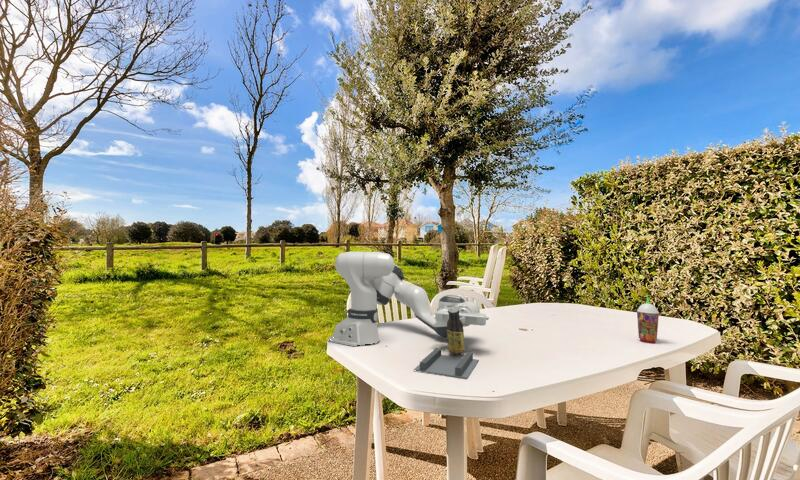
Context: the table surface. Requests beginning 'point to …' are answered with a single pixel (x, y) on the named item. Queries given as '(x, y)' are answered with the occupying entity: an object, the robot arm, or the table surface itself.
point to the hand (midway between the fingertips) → (456, 321)
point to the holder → (448, 364)
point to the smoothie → (647, 322)
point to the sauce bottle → (455, 332)
